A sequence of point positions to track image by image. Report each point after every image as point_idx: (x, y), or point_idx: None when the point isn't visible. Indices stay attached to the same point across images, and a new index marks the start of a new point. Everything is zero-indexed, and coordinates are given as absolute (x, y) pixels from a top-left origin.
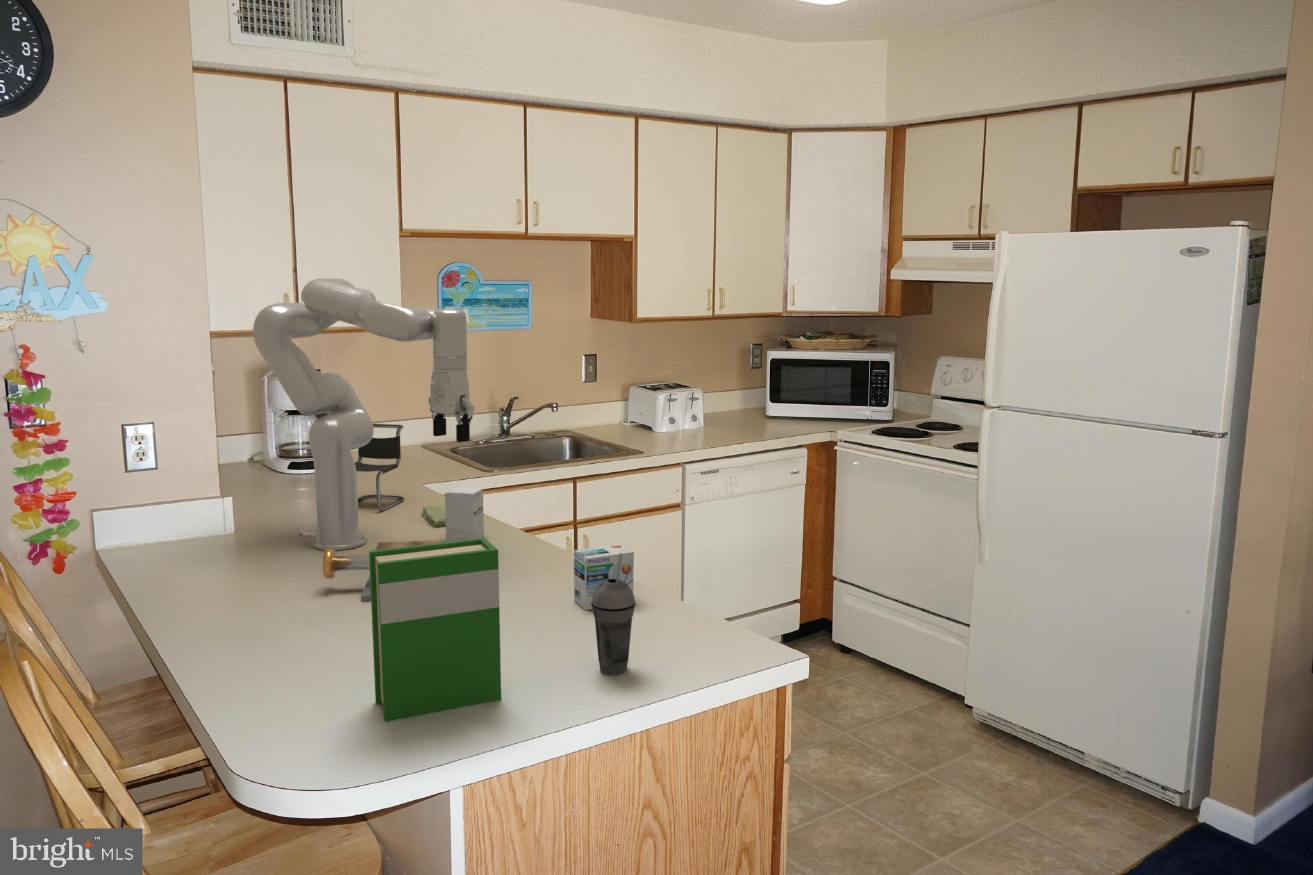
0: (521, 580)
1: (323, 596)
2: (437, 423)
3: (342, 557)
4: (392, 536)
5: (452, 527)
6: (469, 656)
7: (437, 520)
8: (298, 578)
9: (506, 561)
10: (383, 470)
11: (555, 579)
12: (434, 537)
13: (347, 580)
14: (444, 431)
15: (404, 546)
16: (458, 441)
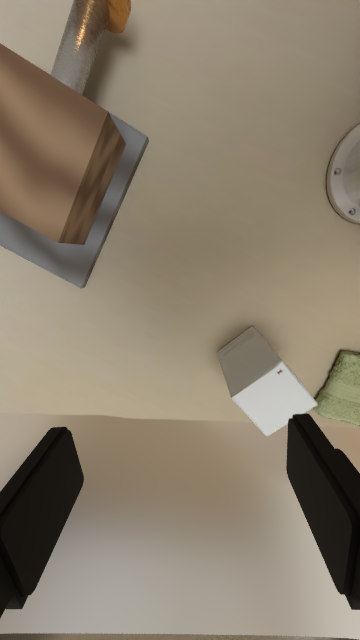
0: (24, 320)
1: None
2: (330, 503)
3: (76, 4)
4: (345, 273)
5: (248, 341)
6: None
7: (346, 359)
8: (219, 9)
9: (112, 346)
10: None
11: (9, 355)
12: (290, 324)
13: (154, 94)
14: (295, 482)
15: (52, 150)
16: (52, 430)
